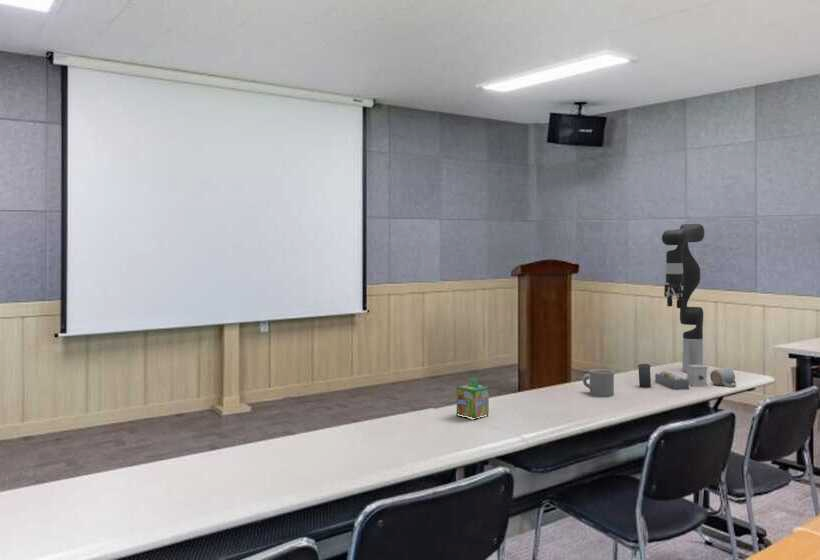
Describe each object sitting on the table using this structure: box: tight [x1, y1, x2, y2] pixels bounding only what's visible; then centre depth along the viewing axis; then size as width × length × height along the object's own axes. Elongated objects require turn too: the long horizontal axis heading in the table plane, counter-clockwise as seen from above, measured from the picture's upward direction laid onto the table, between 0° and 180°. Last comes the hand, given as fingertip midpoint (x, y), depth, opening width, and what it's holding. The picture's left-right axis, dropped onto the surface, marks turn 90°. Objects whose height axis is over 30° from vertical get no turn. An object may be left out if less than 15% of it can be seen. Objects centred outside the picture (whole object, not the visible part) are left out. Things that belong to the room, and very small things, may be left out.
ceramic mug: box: [709, 367, 737, 388], centre depth 288 cm, size 11×8×8 cm
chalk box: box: [456, 376, 490, 418], centre depth 241 cm, size 9×9×15 cm
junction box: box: [686, 364, 708, 387], centre depth 290 cm, size 7×6×9 cm
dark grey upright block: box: [637, 363, 652, 389], centre depth 287 cm, size 5×5×10 cm
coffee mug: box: [582, 368, 615, 398], centre depth 276 cm, size 13×10×10 cm
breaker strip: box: [654, 370, 690, 391], centre depth 289 cm, size 17×7×6 cm, turn 6°
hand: (674, 307), depth 295 cm, fingers open, 8 cm apart
